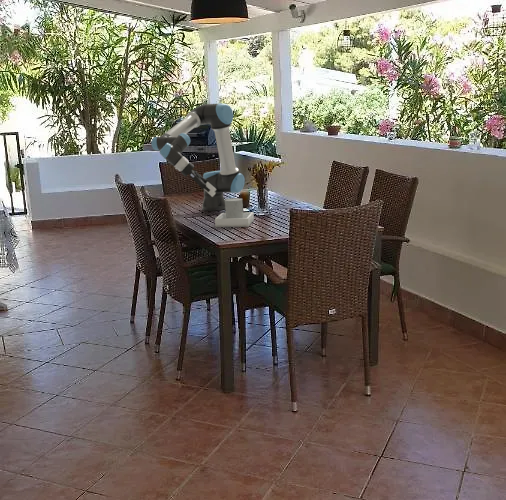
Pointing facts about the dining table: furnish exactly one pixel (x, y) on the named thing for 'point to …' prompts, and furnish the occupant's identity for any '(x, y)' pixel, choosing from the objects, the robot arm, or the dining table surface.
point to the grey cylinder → (234, 208)
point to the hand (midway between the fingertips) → (214, 193)
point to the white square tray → (234, 220)
